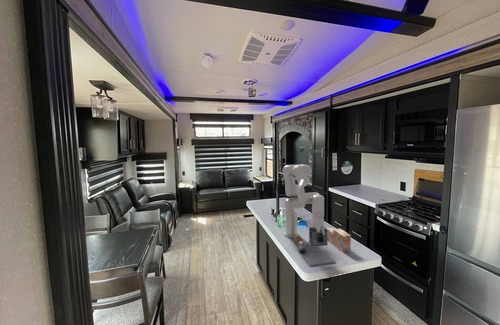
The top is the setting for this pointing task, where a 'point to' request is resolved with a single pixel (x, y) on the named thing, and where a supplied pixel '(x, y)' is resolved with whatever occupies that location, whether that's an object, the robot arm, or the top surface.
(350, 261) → the top surface
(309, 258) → the slate board
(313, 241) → the small box
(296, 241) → the walnut block
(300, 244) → the metallic grey egg
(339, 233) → the stack of blocks
